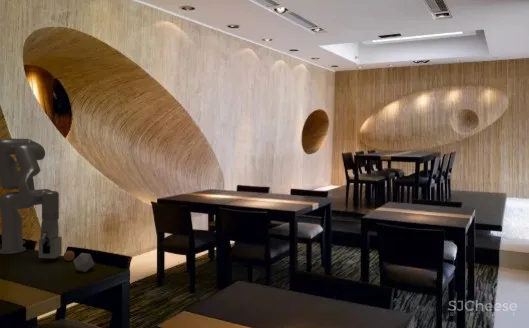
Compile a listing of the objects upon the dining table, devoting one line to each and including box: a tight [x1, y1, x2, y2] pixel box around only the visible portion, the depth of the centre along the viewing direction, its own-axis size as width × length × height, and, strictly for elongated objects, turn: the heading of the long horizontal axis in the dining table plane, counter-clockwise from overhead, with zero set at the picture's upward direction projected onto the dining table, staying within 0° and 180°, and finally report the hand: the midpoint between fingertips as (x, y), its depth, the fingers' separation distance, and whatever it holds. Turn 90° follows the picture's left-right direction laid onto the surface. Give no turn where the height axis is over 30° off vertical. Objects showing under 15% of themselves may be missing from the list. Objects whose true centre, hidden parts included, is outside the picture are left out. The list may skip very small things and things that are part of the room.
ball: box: [63, 250, 75, 262], centre depth 218 cm, size 5×5×5 cm
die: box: [72, 252, 95, 273], centre depth 203 cm, size 8×9×10 cm
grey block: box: [38, 236, 62, 259], centre depth 218 cm, size 8×8×9 cm
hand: (50, 251), depth 218 cm, fingers closed on grey block, 7 cm apart
